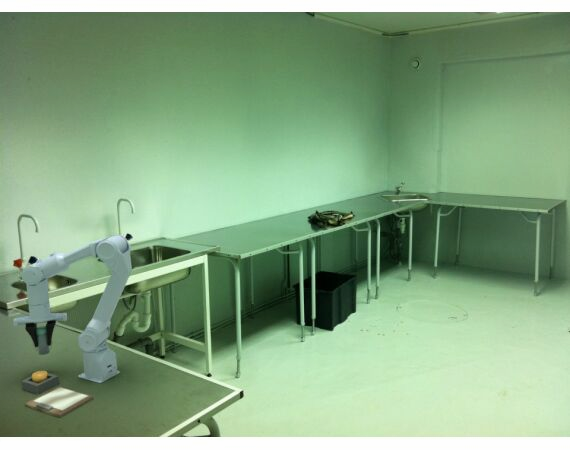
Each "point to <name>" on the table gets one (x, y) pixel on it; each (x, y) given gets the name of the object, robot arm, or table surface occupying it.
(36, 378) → the button
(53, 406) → the clipboard
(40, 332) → the marker
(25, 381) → the button base
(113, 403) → the table surface
